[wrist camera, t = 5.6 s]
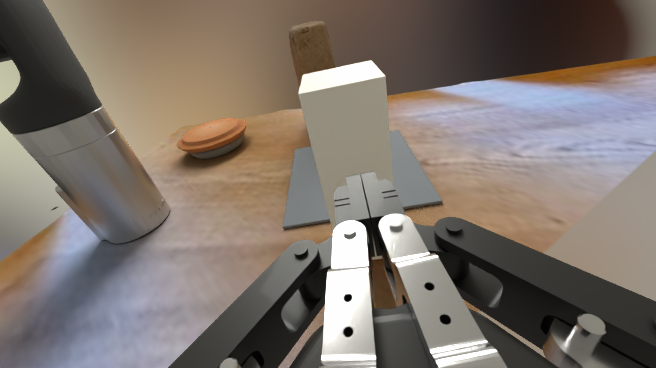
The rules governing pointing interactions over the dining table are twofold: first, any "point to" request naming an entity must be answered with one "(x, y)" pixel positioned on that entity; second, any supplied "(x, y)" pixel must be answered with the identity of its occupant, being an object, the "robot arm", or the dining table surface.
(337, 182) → the tall cream block
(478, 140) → the dining table surface
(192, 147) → the pie
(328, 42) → the tan textured post
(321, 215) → the mat
